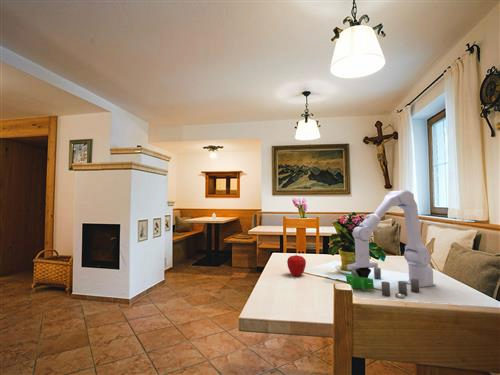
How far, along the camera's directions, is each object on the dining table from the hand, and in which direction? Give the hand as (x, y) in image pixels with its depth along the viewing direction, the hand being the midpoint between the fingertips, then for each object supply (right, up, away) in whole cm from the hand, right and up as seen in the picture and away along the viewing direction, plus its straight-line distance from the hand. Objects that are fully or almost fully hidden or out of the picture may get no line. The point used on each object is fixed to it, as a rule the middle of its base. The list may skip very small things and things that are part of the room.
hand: (363, 285), depth 117 cm
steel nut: (+10, -1, -12) cm, 15 cm away
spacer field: (+10, -1, +2) cm, 10 cm away
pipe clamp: (-2, -1, -1) cm, 3 cm away
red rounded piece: (-26, -3, +22) cm, 34 cm away
